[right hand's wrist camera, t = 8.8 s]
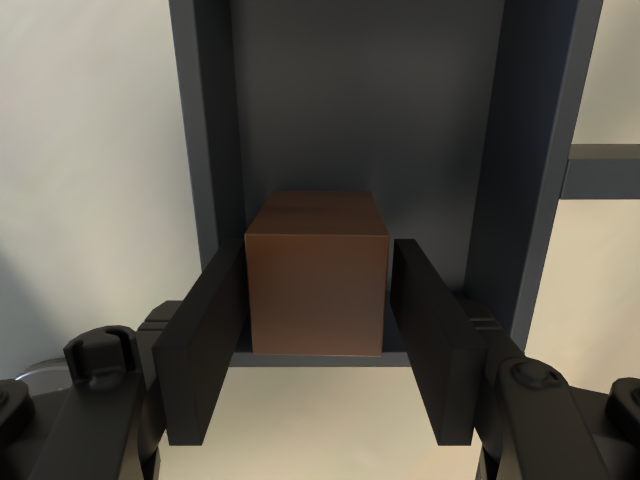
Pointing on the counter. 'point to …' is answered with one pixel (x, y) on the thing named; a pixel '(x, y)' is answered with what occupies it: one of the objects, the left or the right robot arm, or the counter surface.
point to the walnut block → (317, 274)
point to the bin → (398, 132)
